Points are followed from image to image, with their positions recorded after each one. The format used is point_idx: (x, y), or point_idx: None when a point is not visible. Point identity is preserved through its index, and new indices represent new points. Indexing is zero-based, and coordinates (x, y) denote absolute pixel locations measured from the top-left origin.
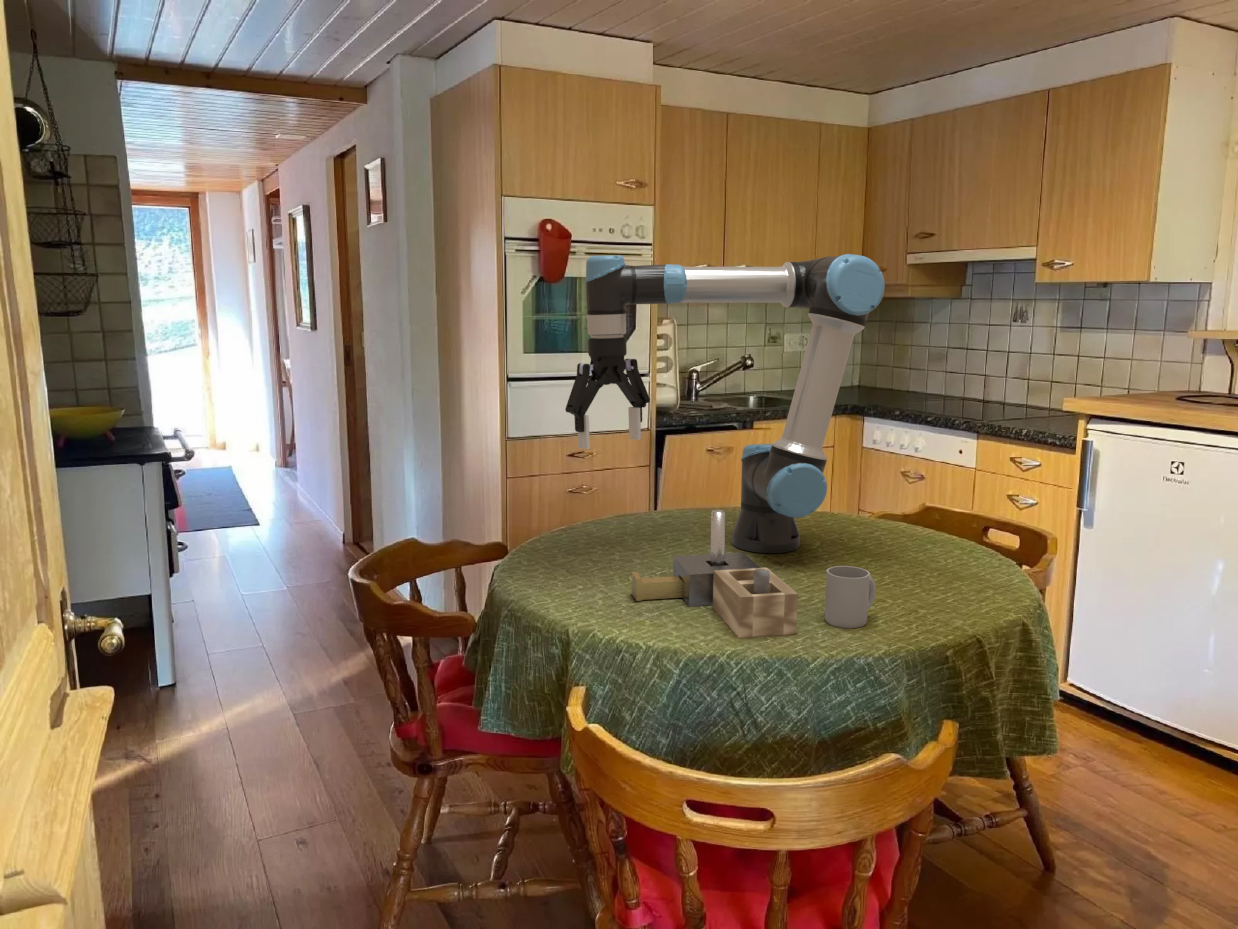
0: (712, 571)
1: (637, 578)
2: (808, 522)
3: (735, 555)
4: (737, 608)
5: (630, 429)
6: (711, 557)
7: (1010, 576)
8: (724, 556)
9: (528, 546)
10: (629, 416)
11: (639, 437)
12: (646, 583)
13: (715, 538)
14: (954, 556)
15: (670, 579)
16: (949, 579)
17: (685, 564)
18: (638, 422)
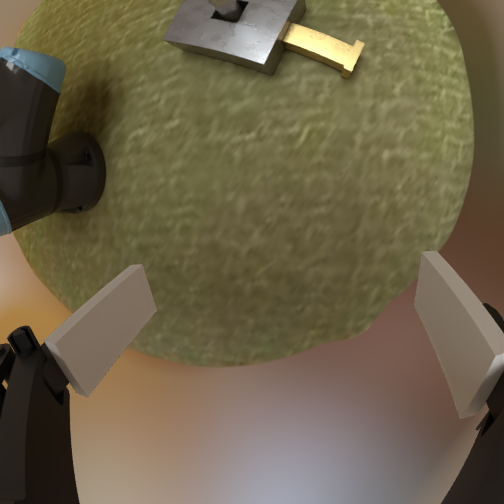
0: None
1: (361, 44)
2: None
3: (180, 30)
4: None
5: (136, 324)
6: (237, 5)
7: (30, 20)
8: (197, 31)
9: (322, 343)
10: (108, 363)
11: (131, 268)
12: (345, 43)
13: None
14: None
15: (304, 35)
16: (52, 17)
17: (276, 22)
18: (96, 301)
